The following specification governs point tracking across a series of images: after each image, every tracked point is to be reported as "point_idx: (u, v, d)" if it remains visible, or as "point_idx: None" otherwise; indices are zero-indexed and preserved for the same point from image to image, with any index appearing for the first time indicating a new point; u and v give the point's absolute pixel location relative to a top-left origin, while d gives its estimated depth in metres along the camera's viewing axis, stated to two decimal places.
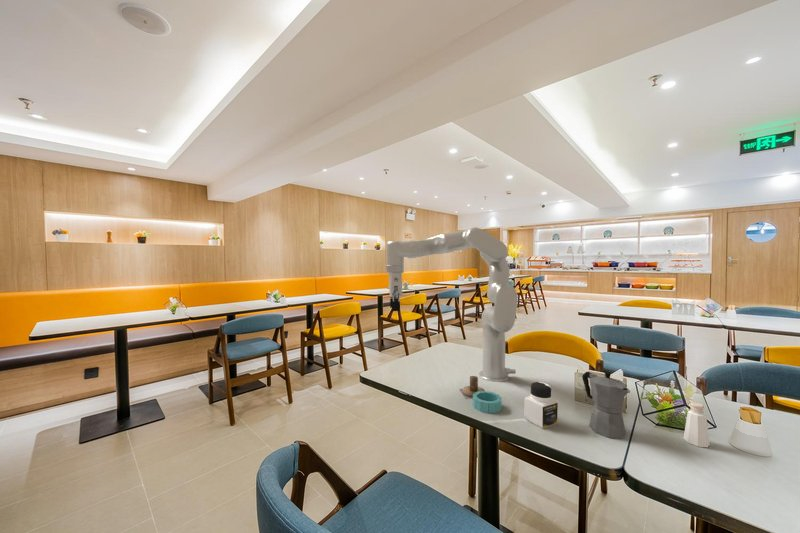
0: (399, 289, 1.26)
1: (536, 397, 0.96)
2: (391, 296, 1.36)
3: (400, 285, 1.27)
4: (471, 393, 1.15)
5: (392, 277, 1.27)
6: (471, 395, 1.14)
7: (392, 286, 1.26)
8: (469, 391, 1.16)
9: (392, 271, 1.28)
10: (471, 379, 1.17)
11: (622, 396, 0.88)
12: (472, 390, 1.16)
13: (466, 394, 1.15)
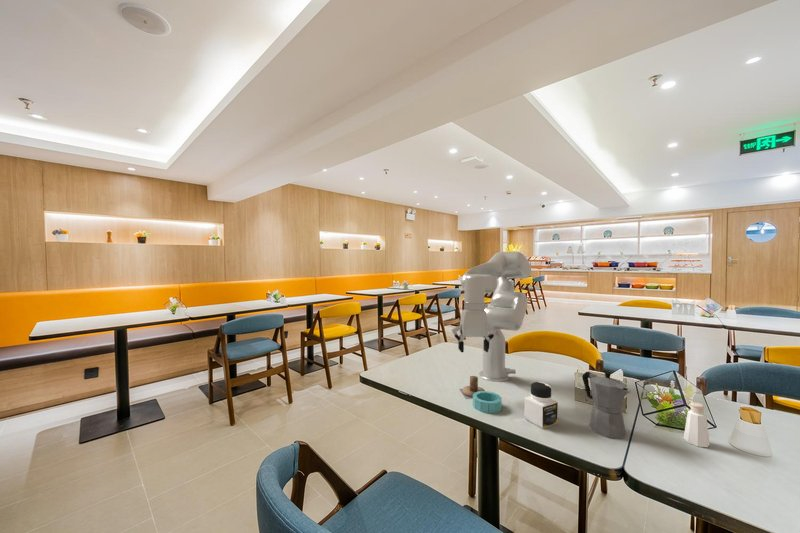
0: None
1: (536, 397, 0.96)
2: (463, 338, 1.16)
3: None
4: (471, 393, 1.15)
5: (486, 315, 1.16)
6: (471, 395, 1.14)
7: (487, 325, 1.16)
8: (469, 391, 1.16)
9: (484, 309, 1.16)
10: (471, 379, 1.17)
11: (622, 396, 0.88)
12: (472, 390, 1.16)
13: (466, 394, 1.15)
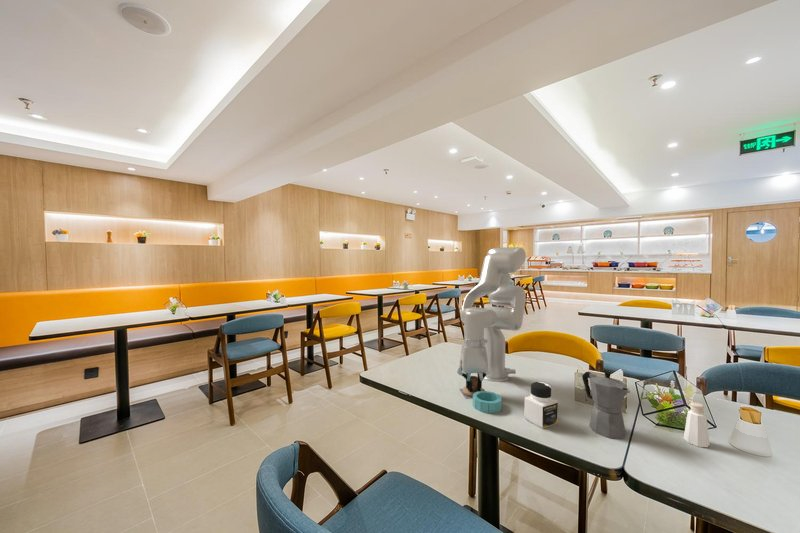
0: None
1: (536, 397, 0.96)
2: None
3: None
4: (471, 393, 1.15)
5: (486, 351, 1.17)
6: (471, 395, 1.14)
7: (487, 361, 1.17)
8: None
9: (484, 345, 1.17)
10: (471, 379, 1.17)
11: (622, 396, 0.88)
12: (472, 390, 1.16)
13: (466, 394, 1.15)
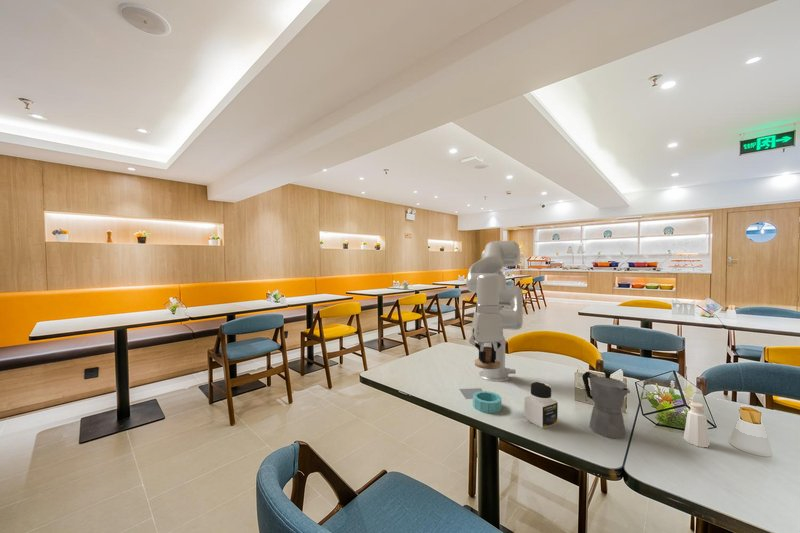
0: None
1: (536, 397, 0.96)
2: None
3: None
4: (485, 364, 1.04)
5: (501, 319, 1.06)
6: (485, 366, 1.03)
7: (502, 329, 1.06)
8: None
9: (498, 311, 1.06)
10: (484, 349, 1.06)
11: (622, 396, 0.88)
12: (486, 361, 1.05)
13: (479, 365, 1.04)
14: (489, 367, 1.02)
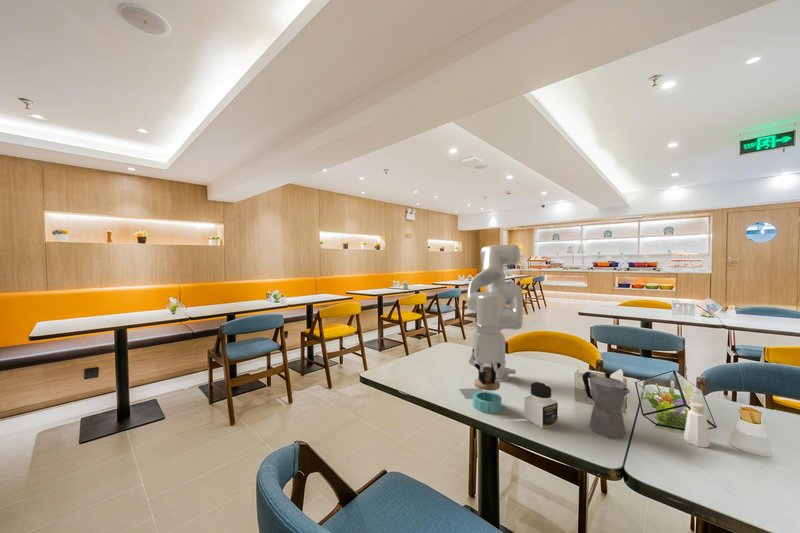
0: None
1: (536, 397, 0.96)
2: None
3: None
4: (484, 385, 1.04)
5: (501, 339, 1.06)
6: (485, 387, 1.03)
7: (502, 350, 1.06)
8: None
9: (498, 332, 1.06)
10: (484, 370, 1.06)
11: (622, 396, 0.88)
12: (485, 382, 1.05)
13: (479, 386, 1.04)
14: (489, 388, 1.02)
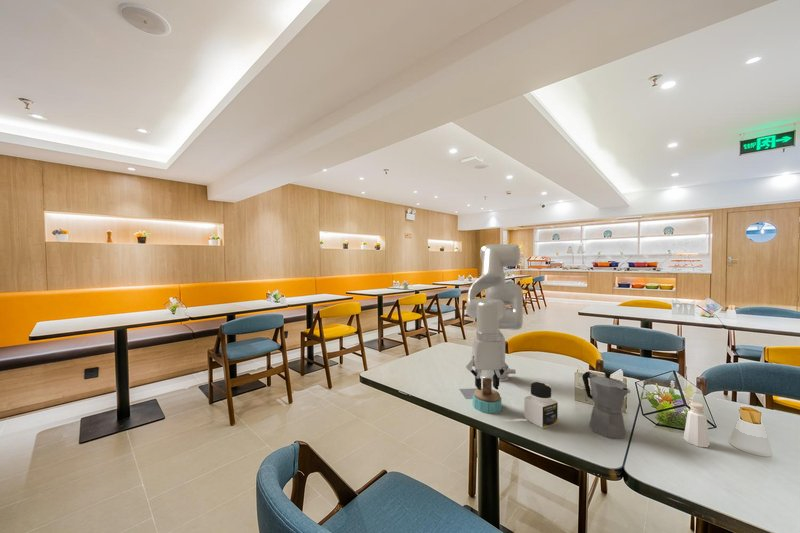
0: None
1: (536, 397, 0.96)
2: None
3: None
4: (484, 396, 1.04)
5: (501, 346, 1.06)
6: (485, 399, 1.03)
7: (502, 357, 1.06)
8: (482, 394, 1.06)
9: (498, 339, 1.06)
10: (484, 381, 1.06)
11: (622, 396, 0.88)
12: (485, 393, 1.06)
13: (479, 398, 1.04)
14: (489, 400, 1.03)
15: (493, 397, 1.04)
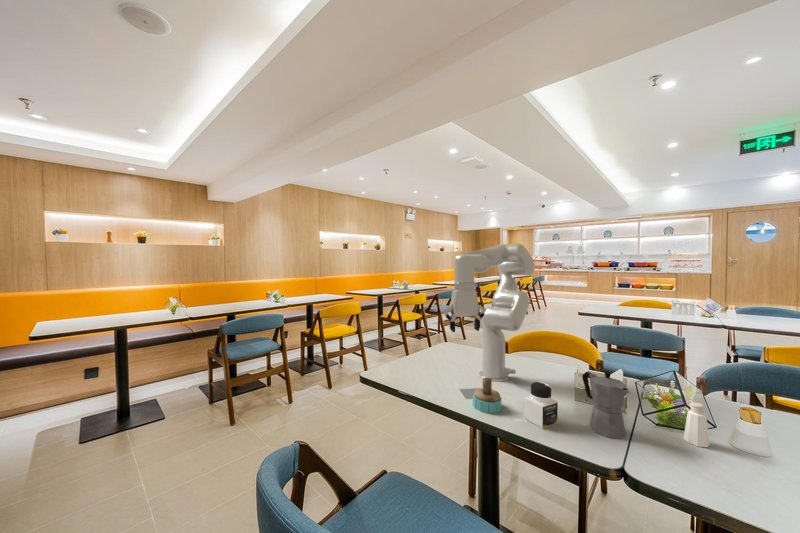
0: None
1: (536, 397, 0.96)
2: (455, 318, 1.16)
3: None
4: (484, 396, 1.04)
5: (476, 295, 1.17)
6: (485, 399, 1.03)
7: None
8: (482, 394, 1.06)
9: (474, 288, 1.17)
10: (484, 381, 1.06)
11: (622, 396, 0.88)
12: (485, 393, 1.06)
13: (479, 398, 1.04)
14: (489, 400, 1.03)
15: (493, 397, 1.04)
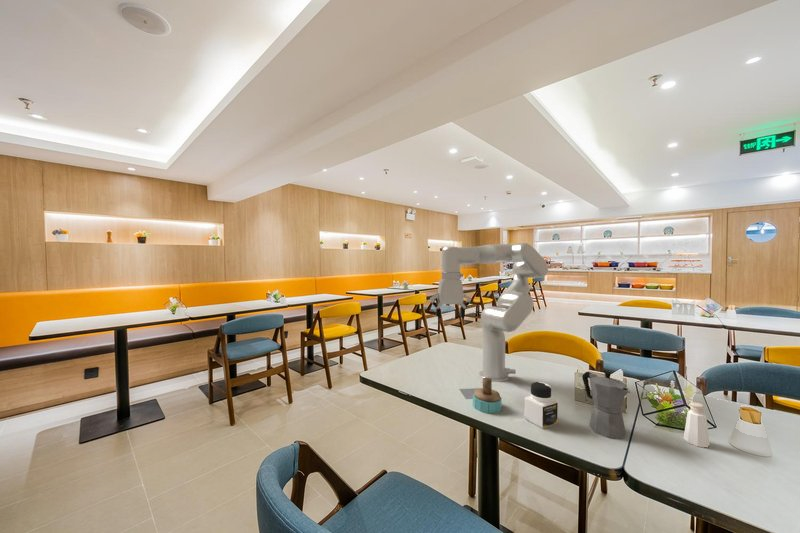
0: None
1: (536, 397, 0.96)
2: (440, 306, 1.24)
3: None
4: (484, 396, 1.04)
5: None
6: (485, 399, 1.03)
7: None
8: (482, 394, 1.06)
9: (459, 278, 1.25)
10: (484, 381, 1.06)
11: (622, 396, 0.88)
12: (485, 393, 1.06)
13: (479, 398, 1.04)
14: (489, 400, 1.03)
15: (493, 397, 1.04)
